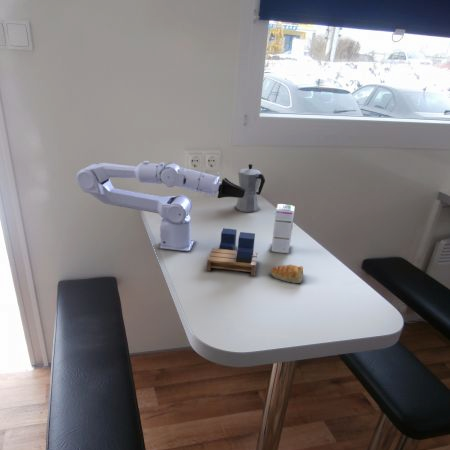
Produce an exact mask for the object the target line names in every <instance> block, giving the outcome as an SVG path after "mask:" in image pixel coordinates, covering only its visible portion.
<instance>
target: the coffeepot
mask: <svg viewBox="0 0 450 450" xmlns="http://www.w3.org/2000/svg"><path fill="white" fill-rule="evenodd" d="M253 166H254V165H253V164H252V163H249V164H248V168H239V169H238V174H237V175H238V186H240V187H242V188H244V189H246V190H245V194H244V196H243V198H237V201H236V205H235V207H236V209H237V210H238V211H241V212H245V213H253V212H256V211H258V209H259V202H258V201H259V200H258V196H260V195H261V193H262V190H263V187H264V186H265V182H266V178H265V176H264V174H262V172H261V171H260V170H257V169H255V168H253Z"/></svg>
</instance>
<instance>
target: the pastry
mask: <svg viewBox="0 0 450 450" xmlns="http://www.w3.org/2000/svg"><path fill="white" fill-rule="evenodd" d="M270 274H271V276H272V277H274V278H275V279H277V280H281V281H283V282H287V283H293V284H301V283H302V281H303V277H304V266H302V265H300V266H299V265H294V264H288V265H286V264H285V265H276V266H274V267H272V268H271V270H270Z"/></svg>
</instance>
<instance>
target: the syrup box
mask: <svg viewBox="0 0 450 450" xmlns="http://www.w3.org/2000/svg"><path fill="white" fill-rule="evenodd" d="M295 210H296V209H295V205H292V204H288V203H287V204H286V203H285V204H284V203H277V205H276V207H275V213H274V214H275V215H274V222H273V223H274V224H273V231H272V241H271V252H276V253H282V254H289V252H290V248H291V241H292V233H293V226H294V217H295Z"/></svg>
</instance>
